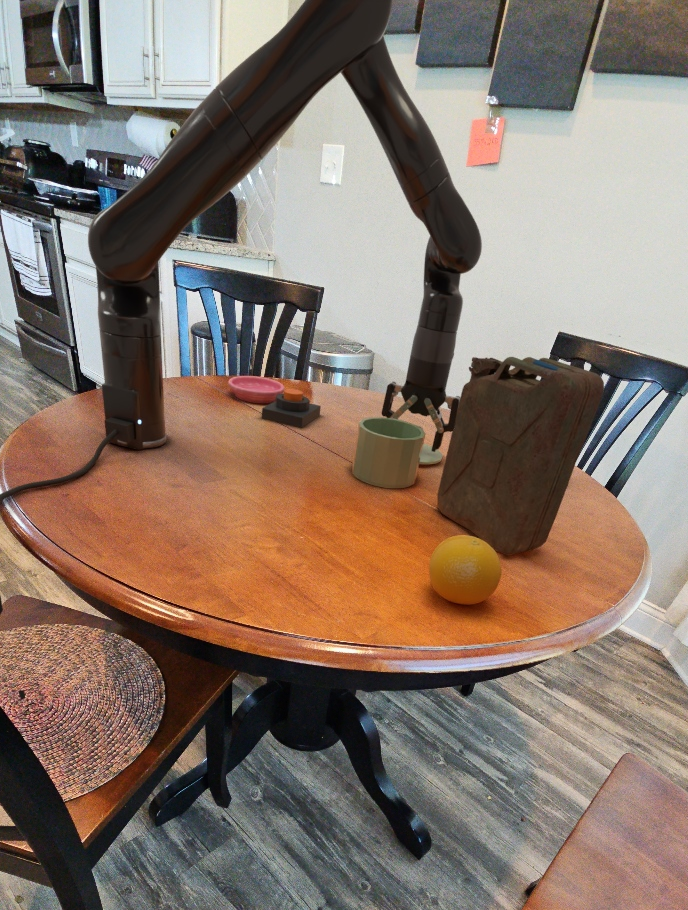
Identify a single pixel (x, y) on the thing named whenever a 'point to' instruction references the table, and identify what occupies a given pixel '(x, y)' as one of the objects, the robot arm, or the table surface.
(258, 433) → the table surface
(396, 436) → the pot
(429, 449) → the lid
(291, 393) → the button
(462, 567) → the fruit
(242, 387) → the saucer
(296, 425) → the button block
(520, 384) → the canister
